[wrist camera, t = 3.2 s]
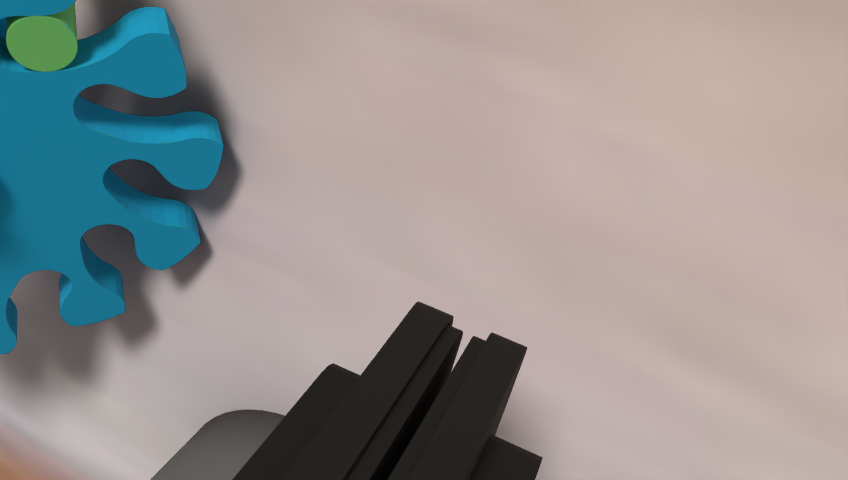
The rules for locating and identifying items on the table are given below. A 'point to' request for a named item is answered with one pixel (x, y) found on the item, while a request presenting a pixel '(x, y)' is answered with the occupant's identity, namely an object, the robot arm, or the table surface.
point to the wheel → (221, 446)
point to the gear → (90, 153)
